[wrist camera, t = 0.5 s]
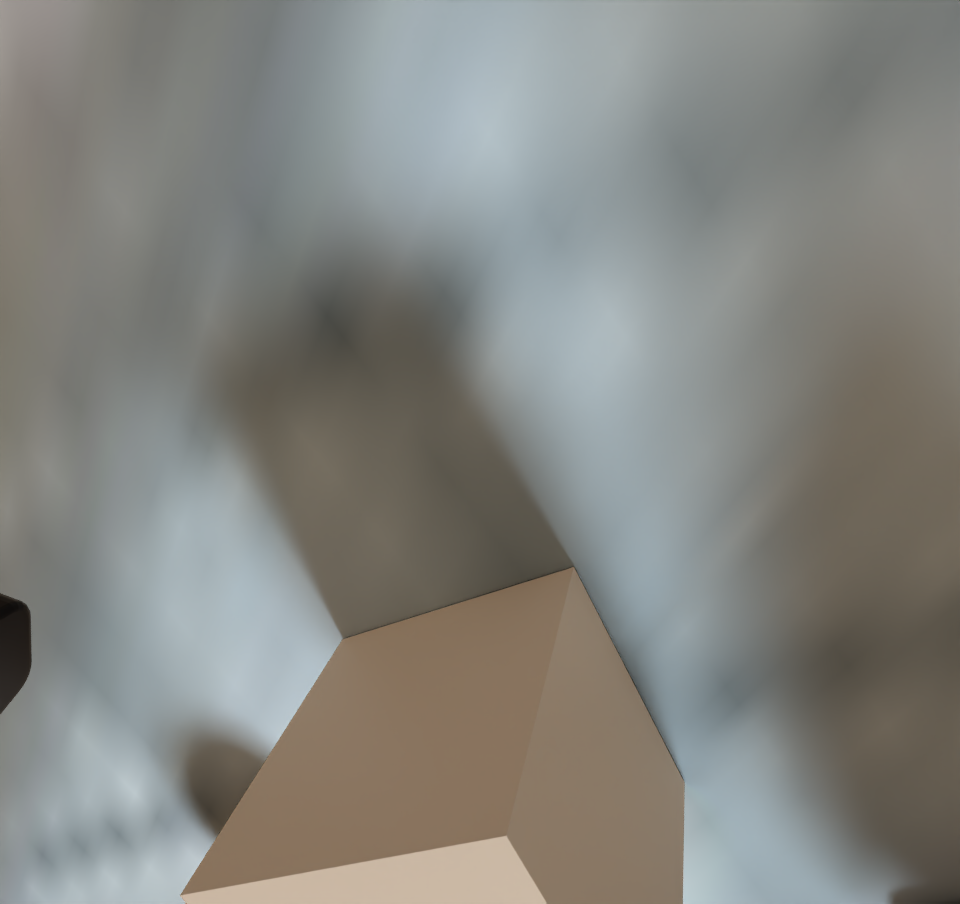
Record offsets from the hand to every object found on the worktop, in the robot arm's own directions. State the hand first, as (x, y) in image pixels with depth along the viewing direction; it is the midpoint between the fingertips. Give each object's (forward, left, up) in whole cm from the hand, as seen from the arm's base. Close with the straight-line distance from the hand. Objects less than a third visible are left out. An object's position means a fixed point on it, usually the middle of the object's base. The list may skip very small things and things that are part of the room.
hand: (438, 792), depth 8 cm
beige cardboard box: (-9, +7, -13) cm, 17 cm away
